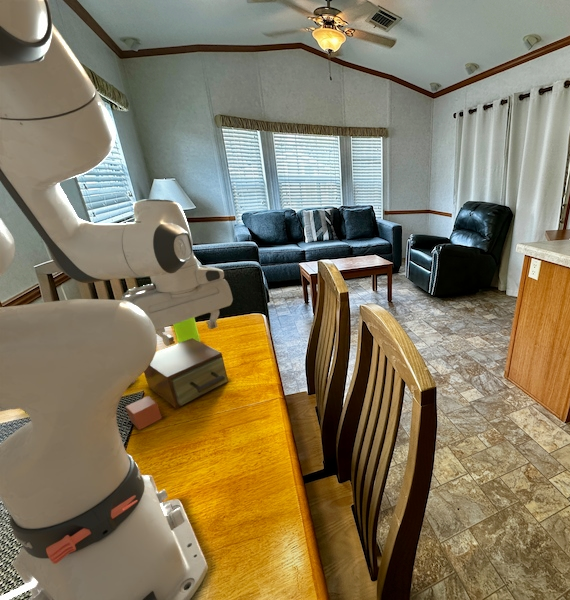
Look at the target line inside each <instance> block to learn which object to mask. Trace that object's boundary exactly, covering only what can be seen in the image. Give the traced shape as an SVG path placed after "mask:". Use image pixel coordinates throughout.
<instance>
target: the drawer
mask: <svg viewBox="0 0 570 600" xmlns="http://www.w3.org/2000/svg"><path fill="white" fill-rule="evenodd" d="M223 361H224V357H223V358H221V357H219V358H217V359H214V360H212V361H209V362H207V363H205V364H203V365H201V366H199V367H196V368H194V369H192V370H190V371H188V372H185V373H183V374H181V375H179V376H177V377H174V378H172V379H171V381H172V385H173V388H174V391H175V394H176V397H177V401H178V404H179V405H182V406H184V405H186V404H188V403H190V402H192V401H194V400H195V399H194V398H196V397H197V398H199V397H201V396H203V395H205V394H207V393H209V392H211V391H213V390H214V389H213V388H215V387H216V388H218V387H220V386H222V385H224V384H226V383H228V382H229V378H228V374H227V370H226V371H225V369H226V365H225V361H224V362H223ZM224 365H225V366H224ZM226 374H227V375H226ZM227 378H228V379H227ZM227 381H228V382H227ZM225 382H226V383H225ZM223 383H224V384H223ZM221 384H222V385H221ZM219 385H220V386H219ZM217 386H218V387H217ZM216 388H215V389H216ZM212 389H213V390H212ZM210 390H211V391H210ZM208 391H209V392H208ZM206 392H207V393H206ZM204 393H205V394H204ZM202 394H203V395H202ZM200 395H201V396H200ZM198 396H199V397H198ZM197 398H196V399H197ZM193 399H194V400H193ZM191 400H192V401H191ZM189 401H190V402H189ZM187 402H188V403H187ZM185 403H186V404H185ZM183 404H184V405H183Z"/></svg>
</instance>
